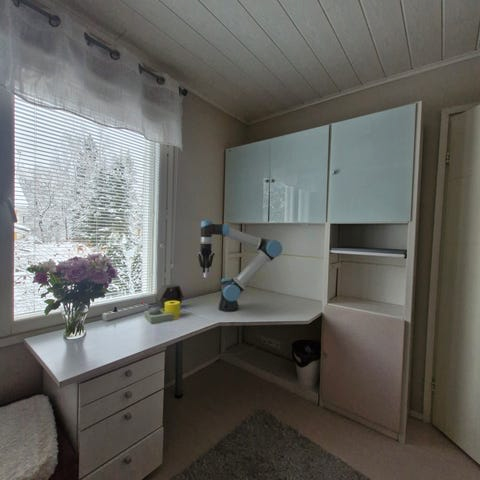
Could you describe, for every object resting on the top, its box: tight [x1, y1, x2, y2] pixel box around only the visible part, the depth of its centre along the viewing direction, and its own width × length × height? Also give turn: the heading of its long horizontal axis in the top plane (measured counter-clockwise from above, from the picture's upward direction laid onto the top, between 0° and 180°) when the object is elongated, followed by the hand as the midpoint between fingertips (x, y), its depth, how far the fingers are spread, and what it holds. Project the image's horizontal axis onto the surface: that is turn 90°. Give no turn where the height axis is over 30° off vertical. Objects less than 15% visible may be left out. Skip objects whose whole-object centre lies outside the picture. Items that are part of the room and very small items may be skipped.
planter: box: [154, 283, 185, 309], centre depth 187 cm, size 17×8×21 cm
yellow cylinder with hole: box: [165, 301, 181, 320], centre depth 172 cm, size 10×10×9 cm
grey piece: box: [144, 306, 175, 325], centre depth 167 cm, size 14×15×7 cm
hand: (205, 277), depth 175 cm, fingers closed
